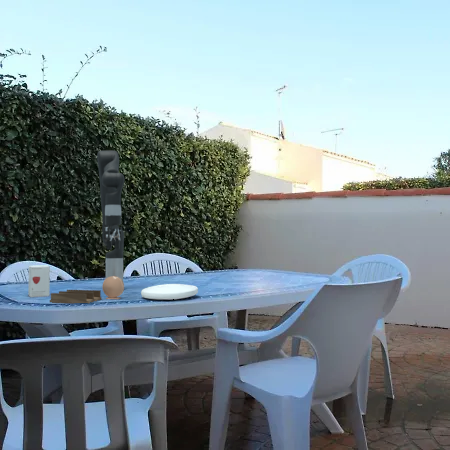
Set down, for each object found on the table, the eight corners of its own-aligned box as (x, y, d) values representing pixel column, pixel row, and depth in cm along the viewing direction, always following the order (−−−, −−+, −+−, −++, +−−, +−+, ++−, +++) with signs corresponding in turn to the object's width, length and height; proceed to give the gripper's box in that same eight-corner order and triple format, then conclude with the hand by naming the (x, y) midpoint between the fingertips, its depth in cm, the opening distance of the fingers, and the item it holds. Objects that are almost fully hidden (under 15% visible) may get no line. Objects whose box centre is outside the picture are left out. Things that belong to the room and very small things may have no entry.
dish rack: (66, 298, 229) (66, 289, 229) (101, 299, 225) (101, 290, 225) (49, 302, 215) (49, 293, 215) (86, 303, 211) (86, 294, 211)
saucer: (105, 297, 230) (105, 275, 231) (124, 298, 228) (124, 276, 228) (102, 298, 228) (102, 276, 228) (121, 299, 225) (121, 276, 225)
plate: (181, 292, 213) (129, 290, 223) (182, 307, 213) (130, 304, 223) (206, 279, 239) (159, 278, 249) (207, 292, 239) (160, 290, 249)
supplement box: (30, 297, 233) (30, 266, 233) (28, 295, 241) (28, 265, 241) (49, 296, 237) (49, 265, 237) (47, 294, 245) (47, 264, 245)
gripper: (112, 215, 236) (112, 248, 236) (98, 214, 222) (98, 249, 222) (126, 215, 235) (126, 248, 234) (113, 214, 221) (113, 249, 220)
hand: (113, 249), depth 228 cm, fingers open, 8 cm apart
